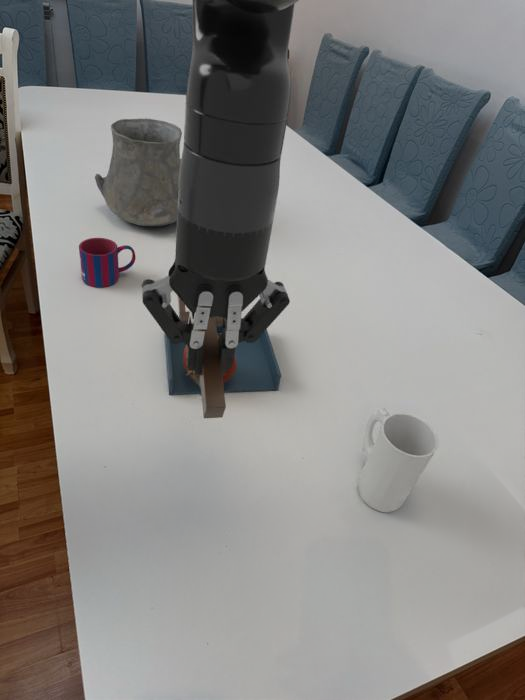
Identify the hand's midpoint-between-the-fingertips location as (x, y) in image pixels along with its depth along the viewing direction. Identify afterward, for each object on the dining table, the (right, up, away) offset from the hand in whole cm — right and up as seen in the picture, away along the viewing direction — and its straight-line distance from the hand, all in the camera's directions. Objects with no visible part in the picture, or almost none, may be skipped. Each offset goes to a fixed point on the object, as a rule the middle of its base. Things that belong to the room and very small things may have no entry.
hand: (208, 369), depth 49 cm
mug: (+21, -16, +18) cm, 32 cm away
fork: (-1, +2, +2) cm, 3 cm away
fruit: (-2, -2, +23) cm, 23 cm away
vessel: (-21, +33, +67) cm, 78 cm away
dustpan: (-3, +3, +36) cm, 36 cm away
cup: (-24, +16, +46) cm, 54 cm away
